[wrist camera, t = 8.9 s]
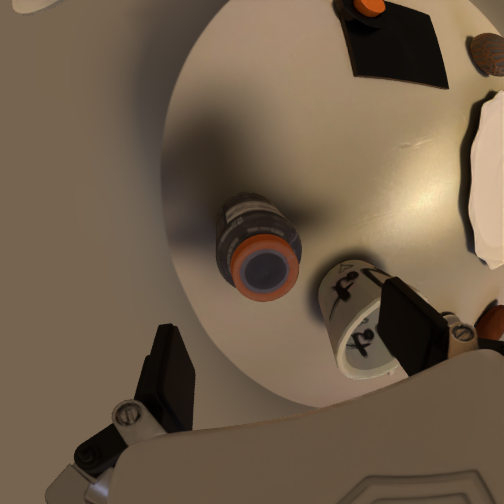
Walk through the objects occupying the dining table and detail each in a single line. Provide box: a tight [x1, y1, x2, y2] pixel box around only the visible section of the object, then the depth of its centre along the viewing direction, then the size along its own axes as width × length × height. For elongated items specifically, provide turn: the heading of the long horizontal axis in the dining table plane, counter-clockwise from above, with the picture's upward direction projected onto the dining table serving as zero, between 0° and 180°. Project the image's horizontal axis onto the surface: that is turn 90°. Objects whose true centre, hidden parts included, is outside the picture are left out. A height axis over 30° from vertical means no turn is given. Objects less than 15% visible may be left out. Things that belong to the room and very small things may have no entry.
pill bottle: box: [216, 193, 302, 302], centre depth 21 cm, size 6×6×11 cm
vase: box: [471, 33, 504, 77], centre depth 16 cm, size 7×7×9 cm
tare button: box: [353, 0, 385, 17], centre depth 16 cm, size 3×3×2 cm
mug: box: [318, 260, 429, 380], centre depth 27 cm, size 10×15×10 cm
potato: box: [476, 305, 504, 340], centre depth 35 cm, size 7×9×6 cm
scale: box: [334, 0, 449, 89], centre depth 18 cm, size 11×14×2 cm
